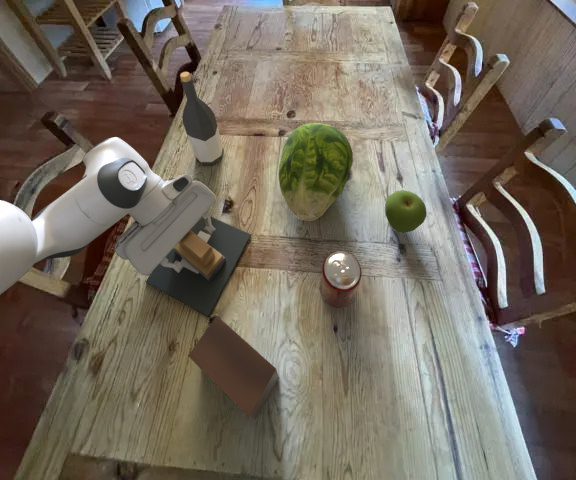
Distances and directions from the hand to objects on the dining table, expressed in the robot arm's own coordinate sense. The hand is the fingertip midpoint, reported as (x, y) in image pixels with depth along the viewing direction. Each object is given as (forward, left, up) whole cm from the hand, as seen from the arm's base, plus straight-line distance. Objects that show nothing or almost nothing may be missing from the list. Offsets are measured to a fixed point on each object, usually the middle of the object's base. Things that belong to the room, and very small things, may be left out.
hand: (197, 250), depth 73 cm
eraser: (0, +1, -5) cm, 5 cm away
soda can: (+6, -30, -6) cm, 31 cm away
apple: (+25, -39, -6) cm, 46 cm away
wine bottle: (+25, +14, -6) cm, 29 cm away
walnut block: (-14, -18, -5) cm, 23 cm away
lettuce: (+27, -17, -6) cm, 32 cm away
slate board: (0, 0, -5) cm, 5 cm away
